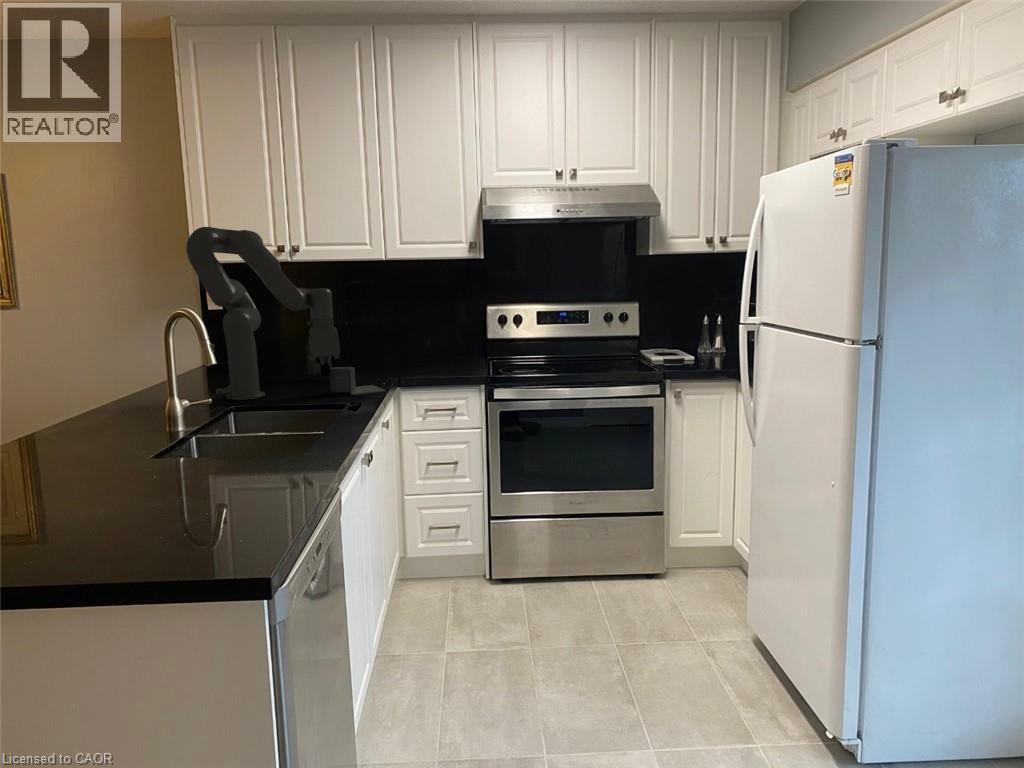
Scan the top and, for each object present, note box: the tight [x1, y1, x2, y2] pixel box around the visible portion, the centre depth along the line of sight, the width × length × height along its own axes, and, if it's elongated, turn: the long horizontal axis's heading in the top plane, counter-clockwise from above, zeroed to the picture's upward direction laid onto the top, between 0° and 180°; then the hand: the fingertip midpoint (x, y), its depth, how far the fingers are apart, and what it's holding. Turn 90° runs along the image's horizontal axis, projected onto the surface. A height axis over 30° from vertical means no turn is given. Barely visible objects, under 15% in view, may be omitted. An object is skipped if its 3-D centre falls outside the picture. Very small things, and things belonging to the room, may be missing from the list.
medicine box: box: [329, 366, 357, 393], centre depth 249 cm, size 8×4×9 cm, turn 82°
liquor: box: [304, 333, 333, 383], centre depth 279 cm, size 9×9×30 cm
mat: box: [346, 384, 387, 396], centre depth 254 cm, size 12×14×1 cm
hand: (325, 375), depth 245 cm, fingers closed
